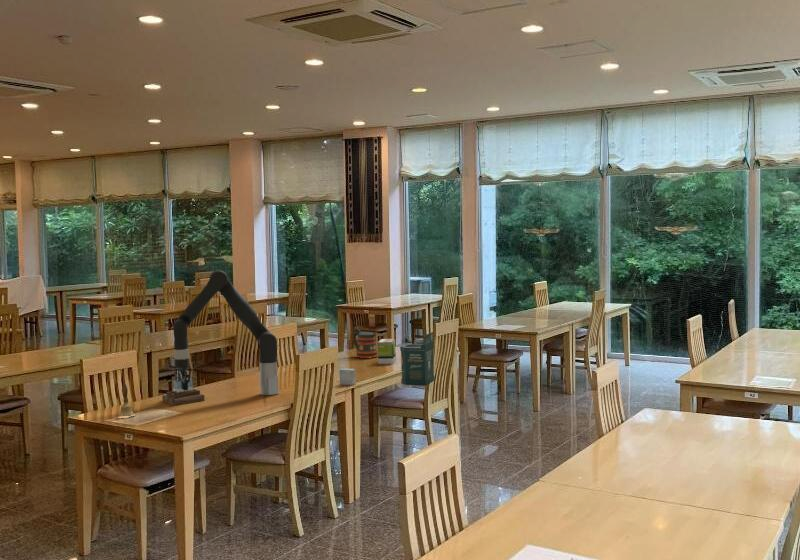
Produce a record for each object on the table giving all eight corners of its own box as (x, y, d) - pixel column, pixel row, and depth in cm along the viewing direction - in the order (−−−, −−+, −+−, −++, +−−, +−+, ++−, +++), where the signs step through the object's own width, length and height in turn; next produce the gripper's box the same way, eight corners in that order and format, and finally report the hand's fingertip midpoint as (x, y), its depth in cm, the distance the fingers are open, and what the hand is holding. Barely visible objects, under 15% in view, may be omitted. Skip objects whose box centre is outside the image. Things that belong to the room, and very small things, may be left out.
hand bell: (118, 419, 378) (116, 386, 377) (116, 416, 386) (115, 383, 385) (136, 417, 381) (134, 384, 380) (134, 414, 389) (133, 381, 388)
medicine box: (355, 383, 452) (355, 368, 451) (352, 385, 448) (352, 370, 447) (343, 383, 455) (342, 368, 454) (339, 384, 450) (339, 369, 450)
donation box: (425, 385, 441) (424, 335, 439) (398, 384, 446) (397, 334, 445) (434, 380, 456) (433, 331, 454) (408, 379, 461) (406, 331, 460)
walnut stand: (204, 400, 417) (204, 391, 417) (175, 405, 407) (175, 395, 406) (191, 396, 429) (190, 387, 429) (162, 400, 419) (162, 391, 419)
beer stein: (347, 357, 550) (346, 328, 549) (359, 354, 563) (358, 326, 561) (369, 359, 540) (369, 330, 539) (381, 356, 553) (380, 327, 551)
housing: (177, 396, 413) (176, 381, 413) (173, 395, 417) (172, 380, 416) (193, 394, 419) (192, 379, 418) (189, 393, 422) (188, 378, 422)
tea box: (381, 360, 534) (380, 338, 533) (396, 360, 533) (395, 338, 532) (377, 364, 519) (377, 341, 518) (393, 364, 518) (392, 341, 517)
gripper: (169, 357, 420) (170, 388, 421) (180, 359, 409) (182, 392, 410) (182, 355, 424) (183, 386, 425) (194, 358, 413) (195, 390, 414)
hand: (183, 389), depth 417 cm, fingers open, 6 cm apart
